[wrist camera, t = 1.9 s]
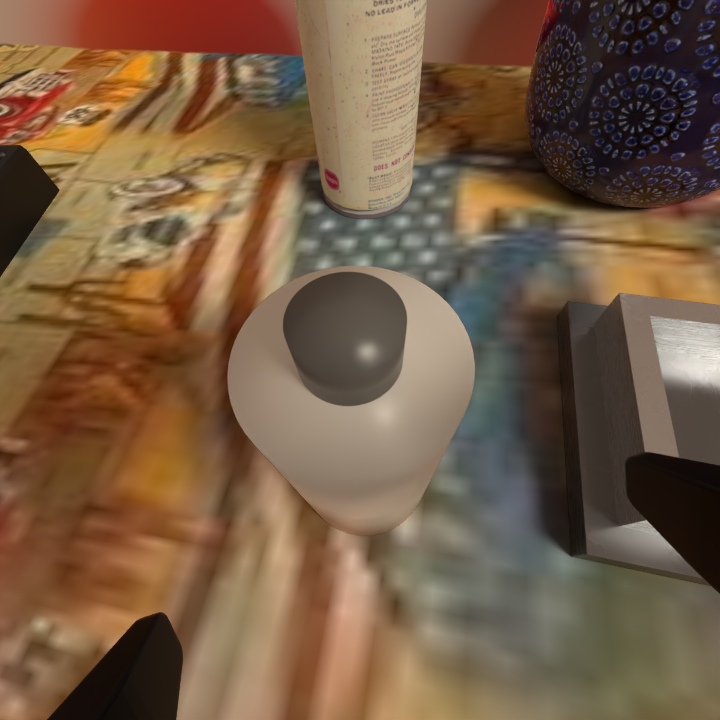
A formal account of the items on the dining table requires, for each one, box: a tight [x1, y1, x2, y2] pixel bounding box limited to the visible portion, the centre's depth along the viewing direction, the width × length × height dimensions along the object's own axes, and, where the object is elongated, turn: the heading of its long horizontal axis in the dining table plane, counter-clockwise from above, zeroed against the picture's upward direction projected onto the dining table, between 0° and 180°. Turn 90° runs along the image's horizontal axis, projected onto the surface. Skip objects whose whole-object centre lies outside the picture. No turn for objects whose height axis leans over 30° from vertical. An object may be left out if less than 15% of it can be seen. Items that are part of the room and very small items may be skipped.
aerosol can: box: [295, 0, 427, 219], centre depth 21 cm, size 7×7×20 cm
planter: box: [525, 0, 720, 208], centre depth 23 cm, size 16×16×15 cm
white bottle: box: [227, 266, 475, 536], centre depth 13 cm, size 6×6×13 cm
